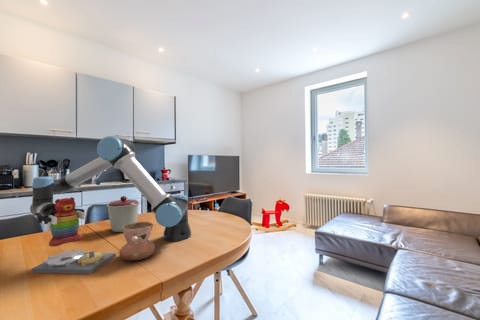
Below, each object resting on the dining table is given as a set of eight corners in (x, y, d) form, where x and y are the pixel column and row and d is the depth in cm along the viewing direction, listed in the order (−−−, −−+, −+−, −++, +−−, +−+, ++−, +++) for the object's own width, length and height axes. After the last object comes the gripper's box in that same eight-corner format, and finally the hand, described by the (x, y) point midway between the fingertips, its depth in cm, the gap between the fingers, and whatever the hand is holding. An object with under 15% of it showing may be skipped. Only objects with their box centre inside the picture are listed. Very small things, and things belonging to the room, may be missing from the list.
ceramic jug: (152, 263, 90) (153, 228, 91) (113, 267, 87) (114, 231, 87) (157, 247, 108) (157, 218, 108) (125, 250, 104) (125, 220, 104)
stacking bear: (50, 247, 83) (50, 201, 84) (46, 241, 90) (46, 198, 90) (84, 240, 91) (84, 197, 92) (78, 234, 98) (78, 195, 98)
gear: (95, 252, 98) (95, 249, 98) (68, 268, 83) (68, 265, 83) (64, 252, 98) (64, 249, 99) (32, 268, 84) (32, 264, 84)
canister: (102, 230, 135) (102, 196, 135) (132, 223, 149) (132, 193, 149) (113, 236, 123) (113, 199, 123) (144, 229, 137) (144, 195, 137)
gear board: (115, 256, 97) (115, 245, 98) (91, 273, 82) (91, 260, 83) (64, 255, 99) (64, 244, 99) (31, 272, 84) (31, 259, 84)
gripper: (77, 214, 110) (98, 221, 97) (17, 225, 92) (35, 235, 79) (77, 199, 110) (99, 204, 97) (17, 207, 92) (35, 214, 79)
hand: (70, 218), depth 88 cm, fingers closed on stacking bear, 9 cm apart
